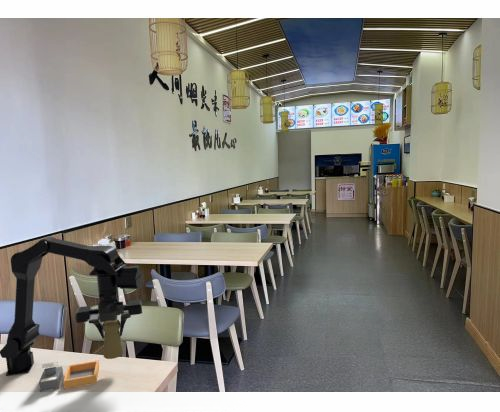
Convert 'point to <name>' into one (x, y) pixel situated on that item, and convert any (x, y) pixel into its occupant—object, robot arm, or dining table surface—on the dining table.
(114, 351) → the olive vase
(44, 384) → the breaker box
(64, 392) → the dining table surface
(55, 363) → the breaker rocker
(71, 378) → the orange square tray
